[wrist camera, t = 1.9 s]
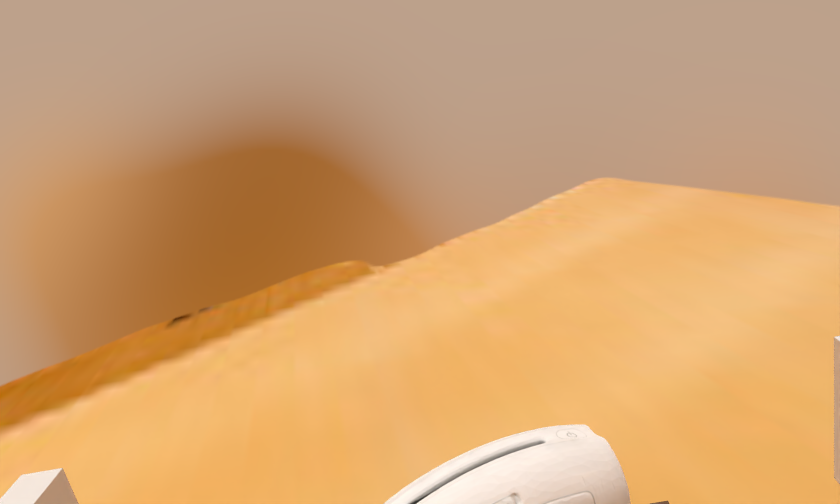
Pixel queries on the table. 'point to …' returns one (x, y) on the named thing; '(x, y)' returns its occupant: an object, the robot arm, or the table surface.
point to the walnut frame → (664, 503)
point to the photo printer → (526, 472)
